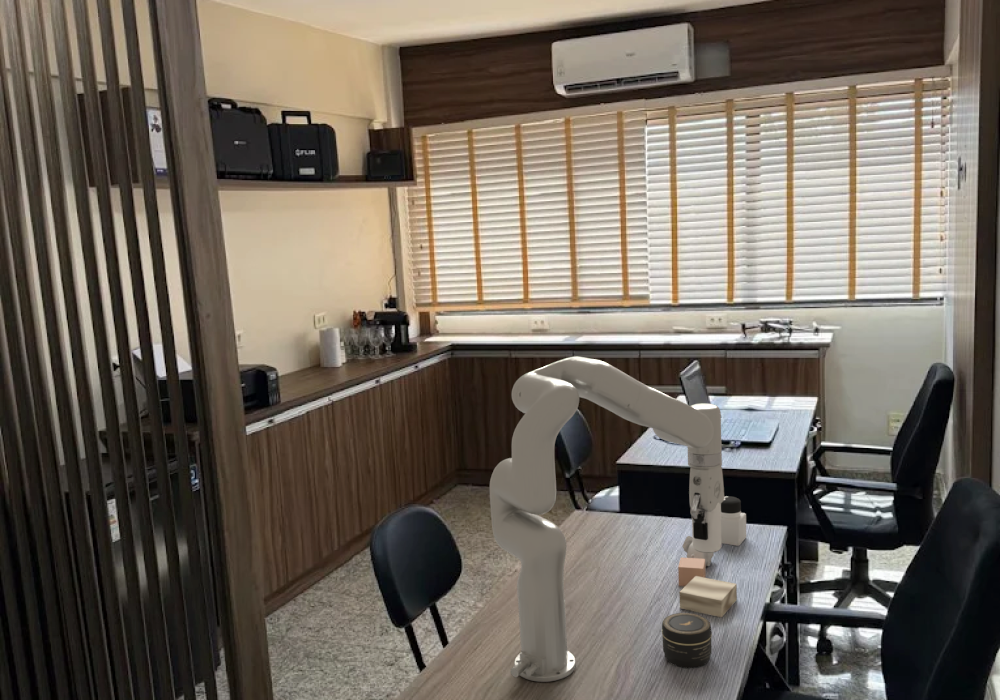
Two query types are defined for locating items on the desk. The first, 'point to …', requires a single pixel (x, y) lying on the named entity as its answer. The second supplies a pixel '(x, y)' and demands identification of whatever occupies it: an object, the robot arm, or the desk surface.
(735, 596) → the birch block
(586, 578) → the desk surface
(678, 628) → the jar
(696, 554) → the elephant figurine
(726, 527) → the medicine bottle
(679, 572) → the terracotta block
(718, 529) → the can
